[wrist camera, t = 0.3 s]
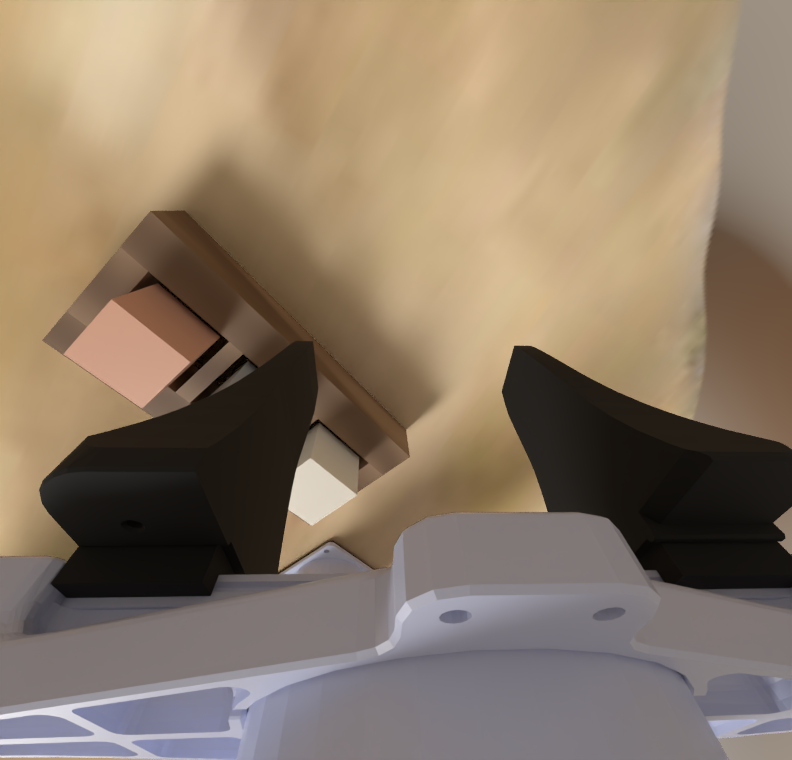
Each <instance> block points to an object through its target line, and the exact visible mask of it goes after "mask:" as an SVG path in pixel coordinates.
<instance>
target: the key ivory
mask: <svg viewBox="0 0 792 760" xmlns="http://www.w3.org/2000/svg"><path fill="white" fill-rule="evenodd" d="M358 472H359V457H358V456H357V455H356V454H355V453H354V452H353V451H352V450H350V449H349V448H348V447H347V446H346V445H345V444H343V443H342V442H341V441H340V440H339V439H338V438H336V437H335V436H334V435H333V434H332V433H331V432H330V431H328V430H327V429H326V428H325V427H324V426H323V425H321V424H320V423H318V424H317V425H316V426H314V427H313V428H312V429H311V430H309V431H308V434H307V437H306V440H305V443H304V446H303V449H302V452H301V455H300V458H299V461H298V465H297V469H296V472H295V477H294V482H293V487H292V492H291V497H290V502H289V507H288V510H290V511H291V512H292V513H294V514H295V515H297V516H298V517H300V518H301V519H303V520H304V521H306V522H307V523H308V524H310V525H311V526H312V525H314V524H315V523H317V522H318V521H320V520H321V519H323V518H324V517H326V516H327V515H329V514H330V513H331V512H333V511H334V510H336V509H337V508H339V507H340V506H342V505H343V504H345V503H346V502H348V501H349V500H351V499H352V498H354V497H355V496H357V490H358Z"/></svg>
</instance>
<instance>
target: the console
mask: <svg viewBox="0 0 792 760" xmlns="http://www.w3.org/2000/svg"><path fill="white" fill-rule="evenodd" d="M157 283H158V284H161V283H162V284H163V285H165V286H166V287H167V288H168V289H169V290H170V291H172V292H173V293H174V294H175V295H176V296H177V297H178V298H180V299H181V300H182V301H183V302H184V303H185V304H186V305H188V306H189V307H190V308H191V309H192V310H193V311H195V312H196V313H197V314H198V315H199V316H200V317H201V318H203V319H204V320H205V321H206V322H207V323H208V324H209V325H211V326H212V327H213V328H214V329H215V330H216V331H218V332H219V333H220V334H221V335H222V336H223V337H224V338H226V339H227V340H228V341H229V342H228V343H227V344H226V345H225V346H224V347H223V348H222V349H221V350H220V351H219V352H218V353H216V354H215V355H214V356H213V357H212V358H211V359H210V360H209V361H208V362H207V363H206V364H205V365H204V366H203V367H202V368H201V369H200V370H199V369H198V368H197V367H196V366H194V365H193V364H192V365H191V366H190V367H189V368H188V369H187V370H185V371H184V372H183V373H182V374H181V375H180V376H179V377H178V378H177V379H176V380H175V381H173V382H172V383H171V384H170V385H169V386H168V387H167V388H165V389H164V390H163V391H162V392H161V393H160V394H158V395H157V396H156V397H155V398H154V399H153V400H151V401H150V402H149V403H148V404H147V405H146V406H145V407H143V408H141V407H139V406H138V405H137V406H138V407H139V408H141V409H142V410H144V411H145V412H147V413H148V414H150V415H151V416H152V417H154V418H155V417H158V416H161V415H164V414H167V413H170V412H172V411H175V410H178V409H180V408H183V407H185V406H188V405H190V404H192V403H195V402H197V401H199V400H202V399H204V398H206V397H208V396H210V395H211V394H212V393H213V392H214V391H215V390H216V389H217V388H218V387H220V385H218V384H217V383H216V382H215V381H214V380H215V379H216V378H218V377H219V376H220V375H221V374H222V373H223V372H224V371H225V370H226V369H227V368H229V367H230V366H231V365H232V364H233V363H234V362H235V361H236V360H237V359H238V358H239V357H241V356H242V355H243V354H244V355H245V356H246V357H247V358H249V359H250V360H251V361H252V362H253V363H254V364H255V365H257V366H258V367H260V366H262V365H263V364H265V363H266V362H267V361H269V360H270V359H271V358H273V357H274V356H275V355H277V354H278V353H279V352H281V351H282V350H283V349H285V348H286V347H287V346H289V345H290V344H291V343H293V342H295V341H313V344H314V353H315V362H316V371H317V380H318V394H317V401H316V406H315V412H314V415H313V418H312V421H311V424H312V423H313V422H315V421H316V420H317V419H319V420H320V421H321V422H322V423H323V424H325V425H326V426H327V427H328V428H329V429H330V430H331V431H333V432H334V433H335V434H336V435H337V436H338V437H339V438H341V439H342V440H343V441H344V442H345V443H346V444H348V445H349V446H350V447H351V448H352V449H351V450H352V451H353V452H354V453H355V454H356V455H357V456H358V457H359V472H358V490H357V492H359V491H360V490H361V489H363V488H364V487H366V486H367V485H369V484H370V483H372V482H373V481H375V480H376V479H378V478H379V477H381V476H382V475H384V474H385V473H387V472H388V471H390V470H391V469H393V468H394V467H396V466H397V465H399V464H400V463H401V462H403V461H404V460H406V459H407V458H409V457H410V455H409V448H408V442H407V435H406V430H405V429H404V428H403V427H402V426H401V425H400V424H399V423H398V422H397V421H396V420H395V419H394V418H393V417H392V416H391V415H390V414H389V413H388V412H387V411H386V410H385V409H384V408H383V407H382V406H381V405H380V404H379V403H378V402H377V401H376V400H375V399H374V398H373V397H372V396H371V395H370V394H369V393H368V392H367V391H366V390H365V389H364V388H363V387H362V386H361V385H360V384H359V383H358V382H357V381H356V380H355V379H354V378H353V377H352V376H351V375H350V374H349V373H348V372H346V371H345V370H344V369H343V368H342V367H341V366H340V365H339V364H338V363H337V362H336V361H335V360H334V359H333V358H332V357H331V356H330V355H329V354H328V353H327V352H326V351H325V350H324V349H323V348H322V347H321V346H320V345H319V344H318V343H317V342H316V341H315V340H314V339H313V338H312V337H311V336H310V335H309V334H308V333H307V332H306V331H305V330H304V329H303V328H302V327H301V326H300V325H299V324H298V323H297V322H296V321H295V320H294V319H293V318H292V317H291V316H290V315H289V314H288V313H287V312H286V311H285V310H284V309H283V308H282V307H281V306H280V305H279V304H278V303H277V302H276V301H275V300H274V299H273V298H272V297H271V296H270V295H269V294H268V293H267V292H266V291H265V290H264V289H263V288H262V287H261V286H260V285H259V284H258V283H257V282H256V281H255V280H254V279H253V278H252V277H251V276H250V275H249V274H248V273H247V272H246V271H245V270H244V269H243V268H242V267H241V266H239V265H238V264H237V263H236V262H235V261H234V260H233V259H232V258H231V257H230V256H229V255H228V254H227V253H226V252H225V251H224V250H223V249H222V248H221V247H220V246H219V245H218V244H217V243H216V242H215V241H214V240H213V239H212V238H211V237H210V236H209V235H208V234H207V233H206V232H205V231H204V230H203V229H202V228H201V227H200V226H199V225H198V224H197V223H196V222H195V221H194V220H193V219H192V218H191V217H190V216H189V215H188V214H187V213H186V212H185V211H150V212H149V214H148V215H147V216H146V217H145V218H144V220H143V221H142V222H141V223H140V224H139V225H138V227H137V228H136V229H135V230H134V231H133V233H132V234H131V235H130V236H129V237H128V239H127V240H126V241H125V242H124V243H123V245H122V246H121V247H120V248H119V249H118V251H117V252H116V253H115V254H114V255H113V257H112V258H111V259H110V260H109V261H108V263H107V264H106V265H105V266H104V267H103V269H102V270H101V271H100V272H99V273H98V274H97V276H96V277H95V278H94V279H93V280H92V282H91V283H90V284H89V285H88V286H87V288H86V289H85V290H84V291H83V292H82V294H81V295H80V296H79V297H78V298H77V300H76V301H75V302H74V303H73V304H72V306H71V307H70V308H69V309H68V310H67V312H66V313H65V314H64V315H63V316H62V317H61V319H60V320H59V321H58V322H57V323H56V325H55V326H54V327H53V328H52V329H51V331H50V332H49V333H48V334H47V335H46V337H45V338H44V339H43V340H42V341H44V342H45V343H47V344H48V345H50V346H51V347H52V348H54V349H55V350H57V351H58V352H60V353H61V354H63V355H64V353H65V352H66V350H67V349H68V348H69V347H70V346H71V345H72V344H73V342H74V341H75V340H76V339H77V338H78V337H79V336H80V334H81V333H82V332H83V331H84V330H85V329H86V328H87V326H88V325H89V324H90V323H91V322H92V321H93V320H94V318H95V317H96V316H97V315H98V314H99V313H100V312H101V311H102V309H103V308H104V307H105V306H106V305H107V304H108V303H109V301H110V300H111V299H114V298H116V297H119V296H122V295H125V294H128V293H131V292H134V291H137V290H140V289H143V288H145V287H148V286H151V285H154V284H157ZM64 356H65V355H64ZM65 357H67V356H65ZM67 358H68V357H67ZM68 359H70V358H68ZM70 360H71V359H70ZM71 361H72V360H71ZM73 362H74V361H73ZM74 363H75V362H74ZM76 364H77V363H76ZM77 365H78V364H77ZM79 366H80V365H79ZM80 367H81V366H80ZM81 368H83V367H81ZM83 369H84V368H83ZM84 370H85V369H84ZM86 371H87V370H86ZM87 372H88V371H87ZM89 373H90V372H89ZM90 374H91V373H90ZM92 375H93V374H92ZM93 376H94V375H93ZM94 377H96V376H94ZM96 378H97V377H96ZM97 379H99V378H97ZM99 380H100V379H99ZM100 381H101V380H100ZM102 382H103V381H102ZM103 383H104V382H103ZM105 384H106V383H105ZM106 385H107V384H106ZM108 386H109V385H108ZM109 387H110V386H109ZM110 388H112V387H110ZM112 389H113V388H112ZM113 390H114V389H113ZM115 391H116V390H115ZM116 392H117V391H116ZM118 393H119V392H118ZM119 394H120V393H119ZM121 395H122V394H121ZM122 396H123V395H122ZM123 397H125V396H123ZM125 398H126V397H125ZM126 399H127V398H126ZM128 400H129V399H128ZM129 401H130V400H129ZM131 402H132V401H131ZM132 403H133V402H132ZM134 404H135V403H134ZM135 405H136V404H135ZM311 424H310V425H311ZM289 511H290V510H289ZM290 512H291V511H290ZM293 514H294V513H293ZM294 515H295V514H294ZM296 516H297V515H296ZM297 517H298V516H297ZM299 518H300V517H299ZM300 519H301V518H300ZM302 520H303V519H302ZM303 521H304V520H303ZM305 522H306V521H305ZM306 523H307V522H306ZM309 525H310V524H309Z"/></svg>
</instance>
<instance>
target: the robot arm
mask: <svg viewBox="0 0 792 760" xmlns="http://www.w3.org/2000/svg"><path fill="white" fill-rule="evenodd" d="M317 394H318V380H317V371H316V362H315V353H314V344H313V341H295V342H293V343H291V344H290V345H289V346H287V347H286V348H285V349H283V350H282V351H281V352H279V353H278V354H277V355H275V356H274V357H273V358H271V359H270V360H269V361H267V362H266V363H265V364H263V365H262V366H260V367H259V368H257V369H256V370H254V371H253V372H251V373H250V374H248V375H247V376H245V377H244V378H242V379H240V380H239V381H237V382H235V383H234V384H232V385H230V386H228V387H226V388H224V389H223V390H221V391H219V392H217V393H215V394H213V395H211V396H208V397H206V398H204V399H202V400H199V401H197V402H195V403H192V404H190V405H188V406H185V407H183V408H180V409H178V410H175V411H172V412H170V413H167V414H164V415H161V416H158V417H155V418H152V419H149V420H146V421H143V422H140V423H136V424H133V425H129V426H126V427H122V428H118V429H114V430H111V431H107V432H103V433H100V434H96V435H91V436H88V437H87V438H86V439H85V440H84V441H83V442H82V443H81V444H80V445H79V446H78V447H77V448H76V449H75V450H74V451H73V452H71V453H70V454H69V455H68V456H67V457H66V458H65V459H64V460H63V461H62V462H61V463H60V464H59V465H58V466H57V467H56V468H55V469H54V470H53V471H52V472H51V473H50V474H49V475H48V476H47V477H46V478H45V479H44V480H43V481H42V484H41V487H40V489H39V491H40V496H41V501H42V504H43V505H44V507H45V508H46V510H47V511H48V513H49V514H50V515H51V516H52V517H53V518H54V520H55V521H56V522H57V523H58V524H59V525H60V526H61V527H62V528H63V529H64V530H65V532H66V533H67V534H68V535H69V536H70V537H71V538H72V539H73V540H74V541H75V542H76V544H77V545H78V546H79V547H78V548H77V550H76V551H75V552H74V553H73V555H72V556H71V557H70V559H69V560H68V561H65V560H63V559H60V558H57V557H50V556H0V758H1V757H2V758H3V757H81V758H82V757H84V758H86V757H87V758H130V759H131V758H132V759H171V760H173V759H174V760H729V759H728V757H727V755H726V753H725V752H724V750H723V748H722V746H721V744H720V743H719V741H718V739H719V738H729V737H739V736H750V735H760V734H771V733H782V732H792V554H791V555H790V554H789V553H788V552H787V551H786V550H785V549H784V548H783V547H782V546H781V545H780V544H779V543H778V542H777V541H783V540H784V539H785V534H784V533H783V532H782V531H781V530H780V529H779V528H778V527H776V525H774V523H773V522H774V521H775V520H777V519H778V518H779V517H780V516H781V515H782V514H784V513H785V512H786V511H787V510H788V509H789V508H791V507H792V449H790V448H789V447H787V446H786V445H784V444H782V443H780V442H776V441H772V440H768V439H763V438H759V437H755V436H751V435H746V434H742V433H737V432H733V431H729V430H725V429H722V428H718V427H714V426H711V425H707V424H704V423H700V422H697V421H693V420H690V419H687V418H684V417H681V416H678V415H675V414H672V413H669V412H666V411H663V410H661V409H658V408H655V407H652V406H650V405H647V404H644V403H642V402H639V401H637V400H635V399H632V398H630V397H628V396H625V395H623V394H621V393H618V392H616V391H614V390H612V389H610V388H608V387H606V386H604V385H602V384H600V383H598V382H596V381H594V380H592V379H590V378H588V377H587V376H585V375H583V374H581V373H579V372H578V371H576V370H574V369H572V368H571V367H569V366H567V365H565V364H564V363H562V362H560V361H559V360H557V359H555V358H553V357H552V356H550V355H548V354H546V353H545V352H543V351H541V350H539V349H537V348H535V347H532V346H514V349H513V353H512V356H511V360H510V364H509V367H508V371H507V374H506V378H505V382H504V385H503V389H502V394H503V398H504V401H505V405H506V408H507V411H508V414H509V417H510V419H511V421H512V423H513V426H514V428H515V430H516V432H517V434H518V436H519V438H520V440H521V443H522V445H523V447H524V449H525V451H526V453H527V455H528V457H529V460H530V462H531V464H532V466H533V469H534V471H535V474H536V477H537V480H538V483H539V486H540V489H541V491H542V494H543V497H544V501H545V504H546V507H547V511H548V512H463V513H448V514H441V515H435V516H429V517H426V518H424V519H422V520H420V521H418V522H417V523H415V524H413V525H411V526H409V527H408V528H406V529H405V530H404V531H403V532H402V533H401V535H400V537H399V539H398V541H397V542H396V544H395V546H394V552H393V564H392V566H391V567H386V568H380V569H375V570H373V569H372V568H370V567H369V566H367V565H366V564H364V563H363V562H361V561H360V560H358V559H357V558H356V557H354V556H353V555H351V554H350V553H348V552H347V551H345V550H344V549H342V548H341V547H340V546H338V545H337V544H335V543H333V542H328V543H326V544H325V545H323V546H322V547H320V548H319V549H317V550H315V551H314V552H312V553H311V554H309V555H308V556H306V557H305V558H303V559H301V560H300V561H298V562H297V563H295V564H294V565H292V566H291V567H289V568H287V569H286V570H284V571H283V572H281V573H280V574H277V573H278V567H279V560H280V554H281V548H282V542H283V536H284V529H285V524H286V518H287V513H288V507H289V502H290V497H291V492H292V487H293V482H294V477H295V472H296V469H297V465H298V461H299V458H300V455H301V452H302V449H303V446H304V443H305V440H306V437H307V434H308V431H309V428H310V424H311V421H312V418H313V415H314V412H315V406H316V401H317Z"/></svg>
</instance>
